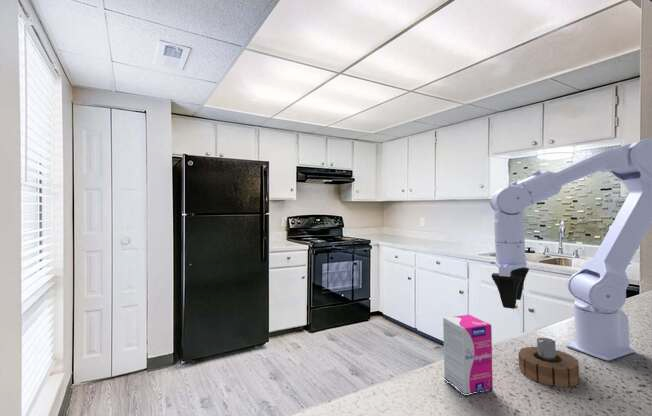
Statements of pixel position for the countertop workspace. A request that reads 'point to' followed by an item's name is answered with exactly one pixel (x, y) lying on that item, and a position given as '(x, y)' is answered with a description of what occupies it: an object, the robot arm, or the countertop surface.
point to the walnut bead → (549, 368)
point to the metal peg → (546, 350)
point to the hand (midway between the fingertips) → (512, 303)
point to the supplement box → (468, 353)
